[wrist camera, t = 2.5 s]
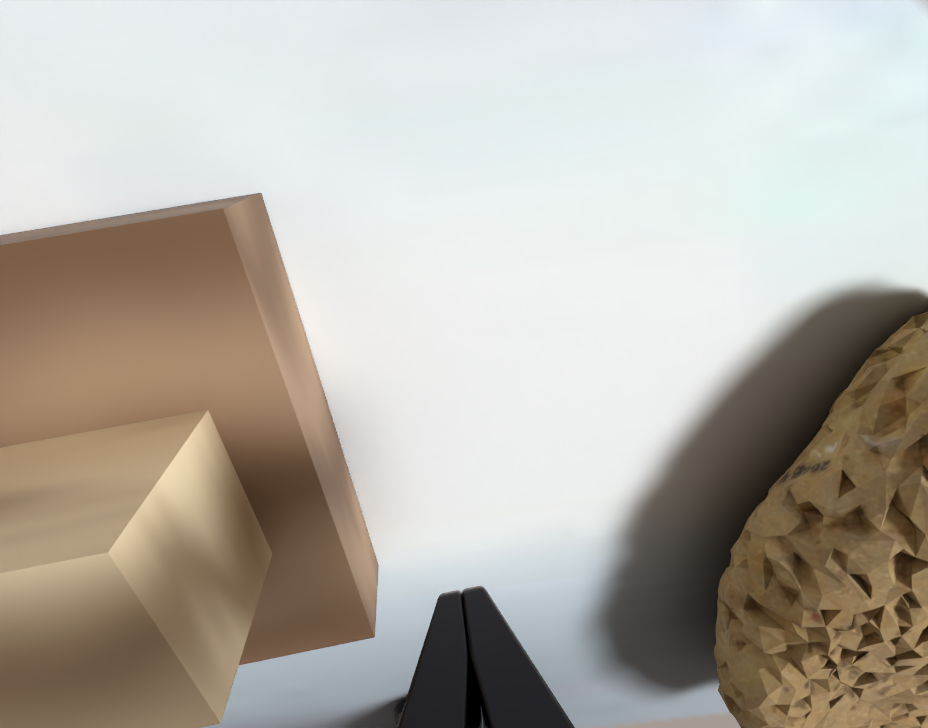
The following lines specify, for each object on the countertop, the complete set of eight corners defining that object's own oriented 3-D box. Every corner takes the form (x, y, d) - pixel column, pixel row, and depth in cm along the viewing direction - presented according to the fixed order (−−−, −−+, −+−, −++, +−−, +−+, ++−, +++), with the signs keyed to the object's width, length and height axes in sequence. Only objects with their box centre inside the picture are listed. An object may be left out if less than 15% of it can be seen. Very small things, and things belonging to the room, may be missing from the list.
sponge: (835, 246, 17) (589, 703, 20) (1234, 279, 10) (764, 972, 13) (971, 357, 23) (766, 694, 26) (1278, 425, 16) (950, 876, 19)
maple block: (272, 553, 14) (220, 722, 10) (98, 587, 14) (-27, 775, 10) (208, 409, 12) (108, 551, 8) (-1, 447, 12) (-215, 614, 8)
